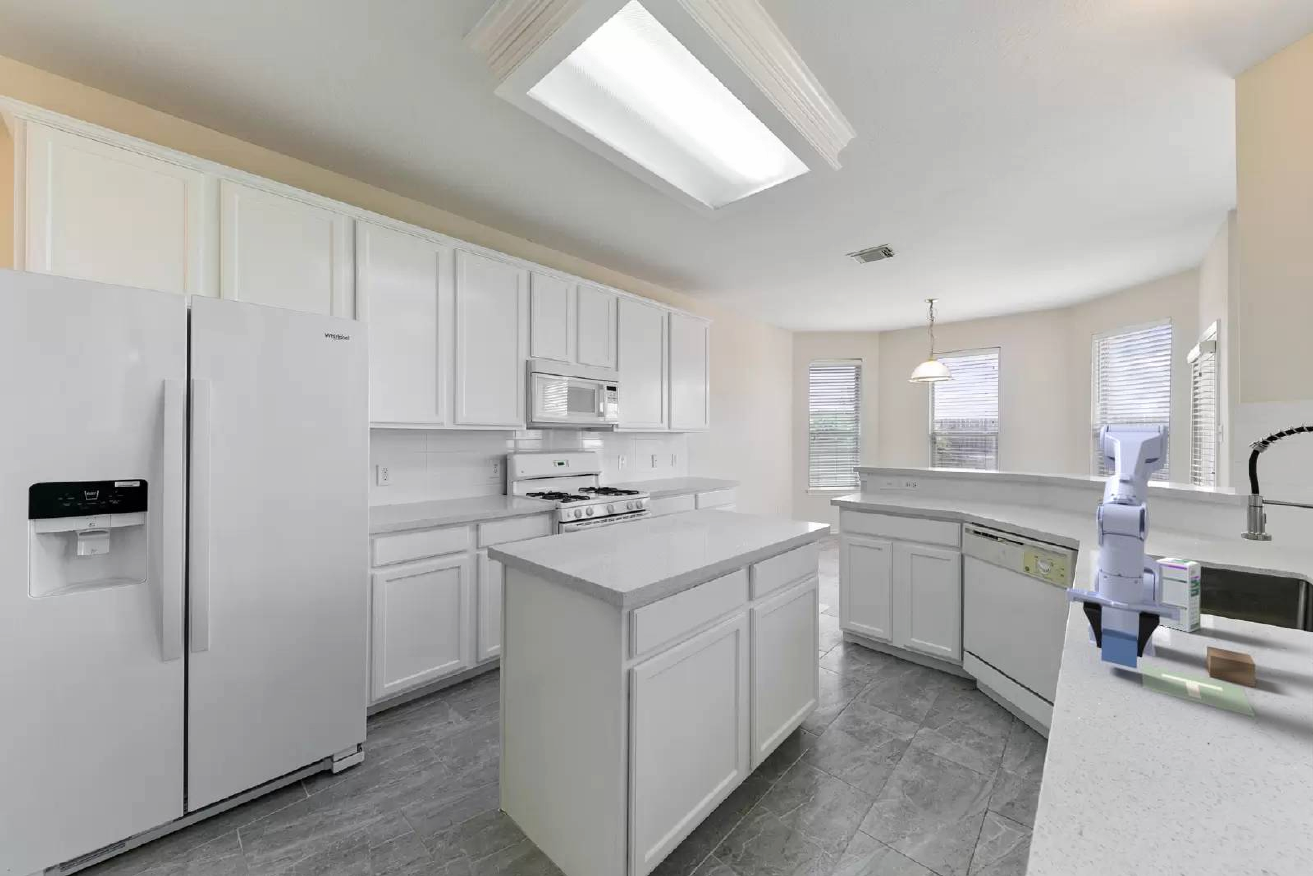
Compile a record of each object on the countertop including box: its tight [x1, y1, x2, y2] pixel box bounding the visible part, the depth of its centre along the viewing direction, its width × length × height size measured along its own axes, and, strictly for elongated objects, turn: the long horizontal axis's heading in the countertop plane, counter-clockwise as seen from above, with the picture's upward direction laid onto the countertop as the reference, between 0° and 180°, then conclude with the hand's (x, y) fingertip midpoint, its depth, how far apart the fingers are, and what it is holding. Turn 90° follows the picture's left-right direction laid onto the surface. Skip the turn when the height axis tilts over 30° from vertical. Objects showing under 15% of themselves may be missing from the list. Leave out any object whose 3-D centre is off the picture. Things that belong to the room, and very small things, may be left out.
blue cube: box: [1100, 627, 1138, 669], centre depth 89 cm, size 4×4×4 cm
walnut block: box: [1206, 646, 1256, 688], centre depth 87 cm, size 5×5×4 cm
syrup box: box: [1155, 556, 1202, 633], centre depth 111 cm, size 6×6×14 cm
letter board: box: [1141, 663, 1256, 718], centre depth 84 cm, size 12×12×1 cm
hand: (1119, 650), depth 89 cm, fingers closed on blue cube, 4 cm apart
